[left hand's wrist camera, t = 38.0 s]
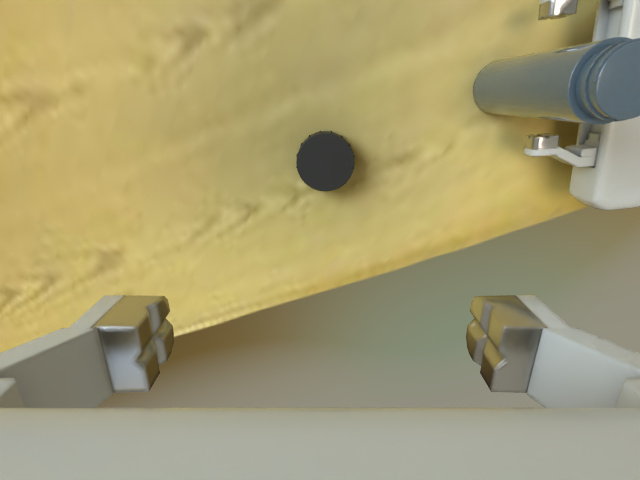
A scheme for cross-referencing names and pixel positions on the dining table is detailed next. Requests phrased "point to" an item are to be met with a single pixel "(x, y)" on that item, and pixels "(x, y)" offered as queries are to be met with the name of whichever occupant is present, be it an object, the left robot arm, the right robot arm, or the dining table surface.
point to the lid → (325, 161)
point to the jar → (566, 83)
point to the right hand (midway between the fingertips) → (535, 80)
